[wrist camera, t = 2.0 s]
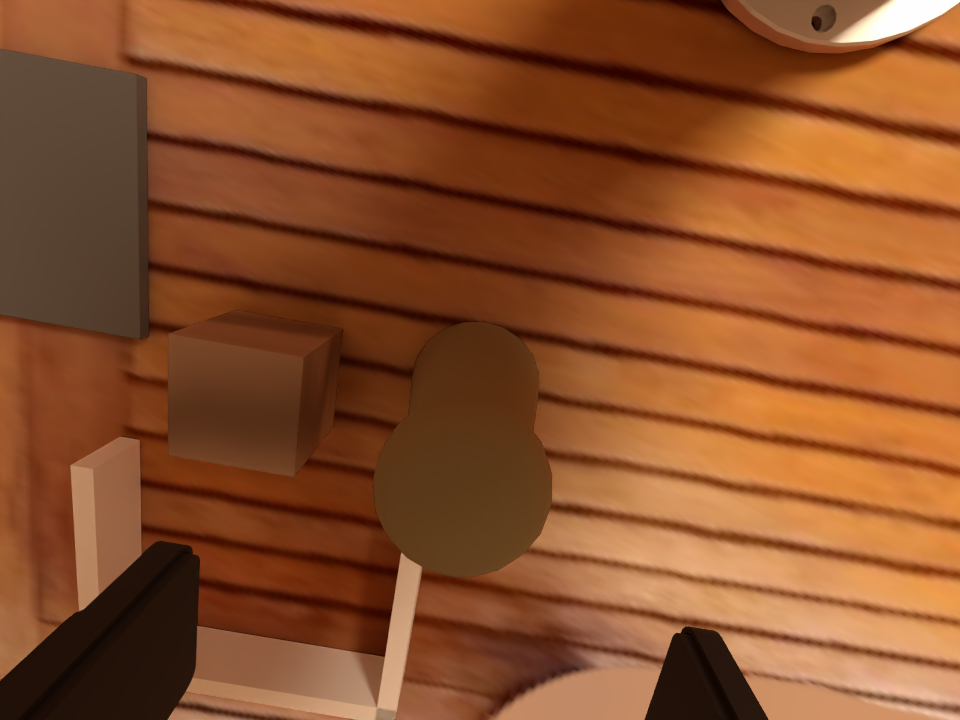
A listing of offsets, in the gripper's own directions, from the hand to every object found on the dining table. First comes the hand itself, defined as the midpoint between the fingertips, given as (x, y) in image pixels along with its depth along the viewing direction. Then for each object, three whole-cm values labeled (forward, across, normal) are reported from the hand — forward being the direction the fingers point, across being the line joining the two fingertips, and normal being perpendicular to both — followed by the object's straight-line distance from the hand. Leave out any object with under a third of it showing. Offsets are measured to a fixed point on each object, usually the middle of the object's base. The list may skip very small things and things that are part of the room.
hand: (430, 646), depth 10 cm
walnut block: (+15, +9, 0) cm, 17 cm away
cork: (+15, 0, -1) cm, 15 cm away
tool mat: (+15, +21, -6) cm, 26 cm away
